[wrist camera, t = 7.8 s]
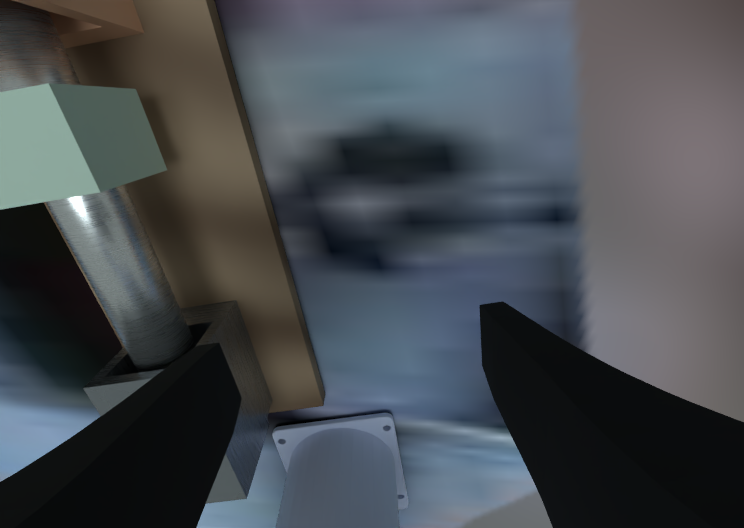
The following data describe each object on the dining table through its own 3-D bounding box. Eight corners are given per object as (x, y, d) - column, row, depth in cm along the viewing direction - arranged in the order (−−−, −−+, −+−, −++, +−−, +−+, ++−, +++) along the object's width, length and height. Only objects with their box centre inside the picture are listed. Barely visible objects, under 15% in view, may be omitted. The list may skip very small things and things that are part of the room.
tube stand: (325, 393, 23) (309, 502, 17) (174, 413, 23) (104, 526, 17) (179, -123, 13) (3, -335, 7) (-78, -67, 13) (-466, -215, 7)
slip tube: (230, 332, 18) (195, 391, 14) (153, 343, 18) (99, 404, 14) (68, -86, 11) (-75, -177, 8) (-50, -61, 11) (-244, -137, 8)
